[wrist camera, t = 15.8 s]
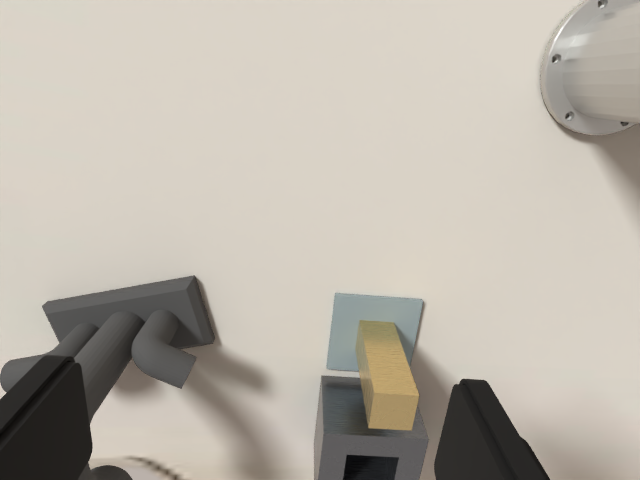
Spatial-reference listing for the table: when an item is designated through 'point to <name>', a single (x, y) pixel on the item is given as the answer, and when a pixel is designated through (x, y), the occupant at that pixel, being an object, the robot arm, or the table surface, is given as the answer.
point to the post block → (361, 439)
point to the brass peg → (385, 377)
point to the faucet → (124, 340)
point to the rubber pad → (371, 309)
